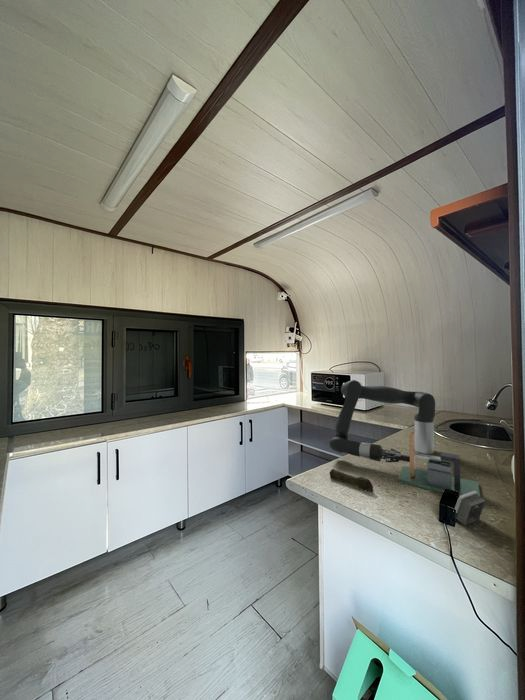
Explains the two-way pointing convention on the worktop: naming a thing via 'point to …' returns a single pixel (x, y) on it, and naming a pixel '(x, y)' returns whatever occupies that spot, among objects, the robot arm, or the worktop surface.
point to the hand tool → (352, 480)
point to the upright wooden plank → (417, 455)
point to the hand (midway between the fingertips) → (410, 459)
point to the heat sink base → (440, 476)
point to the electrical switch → (469, 507)
